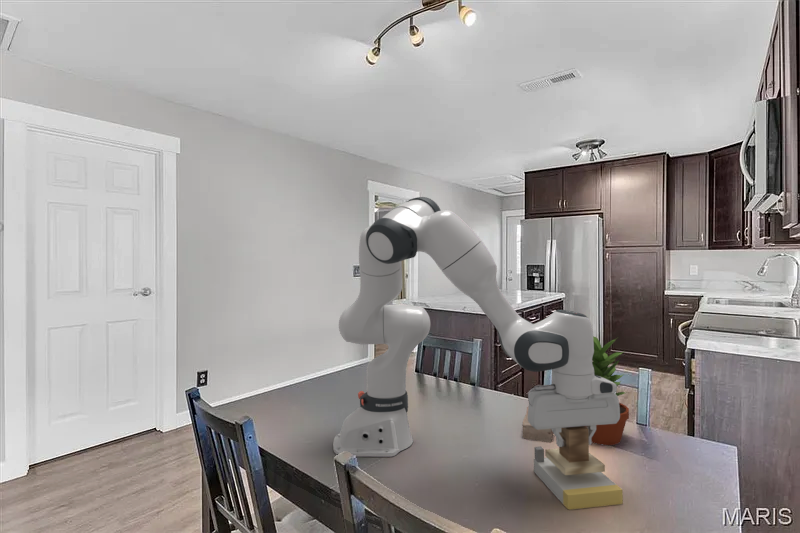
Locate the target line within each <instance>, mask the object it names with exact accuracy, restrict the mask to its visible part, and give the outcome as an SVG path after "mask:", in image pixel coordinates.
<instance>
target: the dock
mask: <svg viewBox="0 0 800 533" xmlns="http://www.w3.org/2000/svg"><path fill="white" fill-rule="evenodd" d="M533 472H534V473H535V475H536V476H537V477H538V479H540V480H541V481H542V482H543V484H545V486H546V487H547V488H548V489H549V490H550V492H552V493H553V495H554V496H555V497H556V498H557V499H558V500H559V501H560V502H561V504H562V505H563V506H564V507H565V508H566V509H567V511H568V510H578V509H579V510H580V509H588V508H599V507H607V506H608V507H609V506H617V505H623V504H624V501H623V500H624V499H623V495H624V494H623V490H624V489H622V488H621V487H620V486H619V485H618V484H616V483H615V482H614V481H613V480H612V479H610V478H609V477H608V476H607V475H605V474H604V473H603V472H596V473H585V474H574V475H564V474H563V473H562V472H561V471H560V470H559V469H558V468H557V467H556V466H555V465H554V464H553V463H552V462H551V461H550V460H549V459H548V458H547V457H545V449H544V447H543V446H534V458H533Z"/></svg>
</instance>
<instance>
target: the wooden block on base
mask: <svg viewBox="0 0 800 533" xmlns="http://www.w3.org/2000/svg"><path fill="white" fill-rule="evenodd" d="M559 434H560V435H561V436H563V437H564V438H565V439H566V447H559V446H558V448H549V449H548V448H546V449H544V457H545V458H548V459H549V460H550V461H551V462H552V463H553V464H554V465H555V466H556V467H557V468H558V469H559V470H560V471H561V472H562V473H563V474H564V475H574V474H585V473H596V472H602V473H603V472H604V473H605V472H606V465H605V464H604V463H603V462H602V461H601V460H600V459H598V458H597V457H596V456H595V455H593V454H592V453H591V452H590V450H589V448H590V447H589V446H590V445H589V432H588V428H586V427H585V426H579V427H566V428H561V432H559Z"/></svg>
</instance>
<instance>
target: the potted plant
mask: <svg viewBox="0 0 800 533" xmlns="http://www.w3.org/2000/svg"><path fill="white" fill-rule="evenodd" d="M618 338H619V337H617V338H615V339H612V340H610V341H609V342H607V343H606V344H604V345H603V346H602V344H601V342H600V340H599V338H598V337H597V336H594V335H593V341H594V354H593V357H592V364H593V367H594V375H597V376H600V377H603V378H605V379H607V380H610V381H611V382H613V383H615V384H616V385H617V387H618V386H620V385H621V382H622V380H621V381H617V380H619V379H620V378H622V377H623V376H624V375H625V373H623V374H621V375H620V374H614V373H615V371H617V368H616V367H617V365H618V364H619V362H620V361H621V360H622V358H620V359H618V360H616V358H618V357H619V356H621V355H622V354H623V353H624V351H622V352H614V353H612V354H609V355H608V353H606V352H607V350H608V349H610V347H611V346H612V345H613V344H614V343H615V342H616V340H617V339H618ZM613 362H614V363H613ZM628 393H629V391H627V392H625V391H619V392H615V394H616V395H617V397H618V396H619V397H620V396H622V395H625V394H628ZM619 407H620V419H619V421H618V422H617V423H616V424H605V425H596V431H595V433H594V435H593V436H592V437H591V440H592V442H593V443H592V444H595V443H597V444H596V445H601V444H603V445H602V446H615V445H618V444H620V443H621V441H622V437H623V433H624V430H625V427H626V425H627V424H626V423H627V421H628V420H629V419H630V408H629V407H628V406H627V405H625V404H623V403H622V402H619ZM585 427H586V426H585ZM586 428H587V427H586Z"/></svg>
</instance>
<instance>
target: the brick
mask: <svg viewBox="0 0 800 533" xmlns="http://www.w3.org/2000/svg"><path fill="white" fill-rule="evenodd" d="M528 407H529V405H528V406H527V407H526V413H525V415H524V417H523V421H522V424H521V425H522V438H523V439H525V440H529V441H530V440H531V441H538V442H543V443H552V442H553V436H554V433H553V432H552V430H551V429H540V430H537V429H535V428H534V427H533V426H531V424H530V423H529V422H528Z"/></svg>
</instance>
